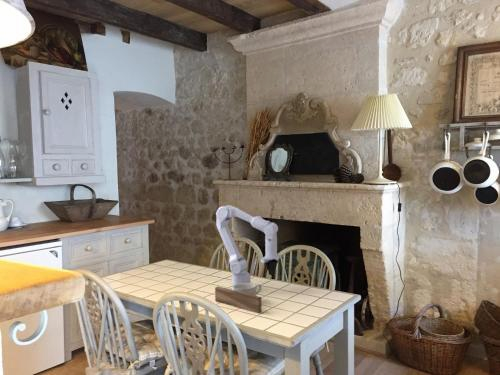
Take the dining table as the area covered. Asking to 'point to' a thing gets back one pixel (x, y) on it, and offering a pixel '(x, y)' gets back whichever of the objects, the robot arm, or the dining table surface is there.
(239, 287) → the teacup
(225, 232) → the robot arm
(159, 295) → the dining table surface
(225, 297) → the wall board
